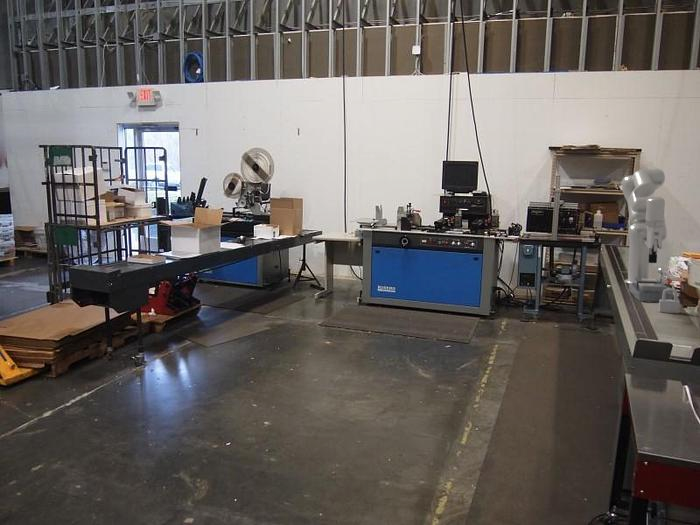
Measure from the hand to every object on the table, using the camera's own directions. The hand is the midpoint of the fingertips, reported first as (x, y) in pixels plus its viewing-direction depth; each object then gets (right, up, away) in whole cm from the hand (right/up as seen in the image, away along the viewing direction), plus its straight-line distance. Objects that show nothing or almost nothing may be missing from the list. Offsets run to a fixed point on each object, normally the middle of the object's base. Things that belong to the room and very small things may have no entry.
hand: (652, 262), depth 256 cm
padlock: (-12, -21, -34) cm, 41 cm away
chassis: (-3, -16, -3) cm, 17 cm away
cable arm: (+5, -15, -3) cm, 16 cm away
